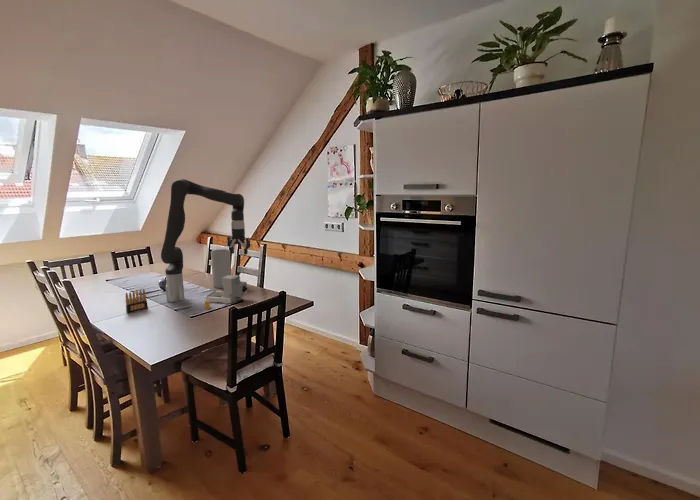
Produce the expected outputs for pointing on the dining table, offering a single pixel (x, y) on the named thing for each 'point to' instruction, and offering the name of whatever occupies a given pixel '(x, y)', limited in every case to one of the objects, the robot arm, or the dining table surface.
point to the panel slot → (213, 298)
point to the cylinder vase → (220, 266)
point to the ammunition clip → (136, 302)
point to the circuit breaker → (233, 287)
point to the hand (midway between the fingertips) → (239, 254)
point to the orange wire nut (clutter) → (206, 304)
